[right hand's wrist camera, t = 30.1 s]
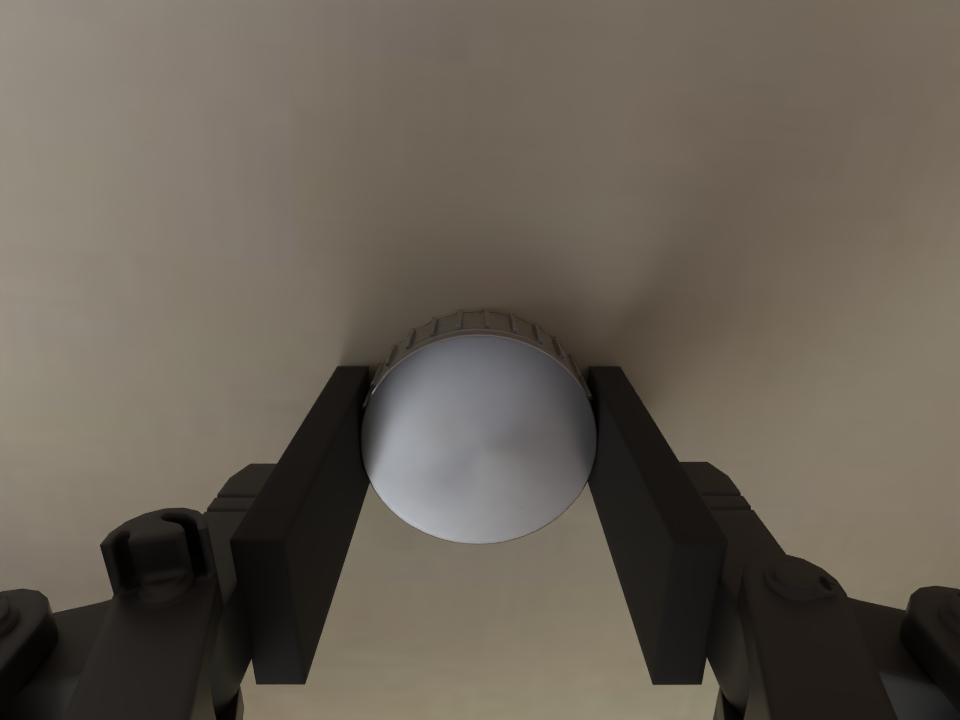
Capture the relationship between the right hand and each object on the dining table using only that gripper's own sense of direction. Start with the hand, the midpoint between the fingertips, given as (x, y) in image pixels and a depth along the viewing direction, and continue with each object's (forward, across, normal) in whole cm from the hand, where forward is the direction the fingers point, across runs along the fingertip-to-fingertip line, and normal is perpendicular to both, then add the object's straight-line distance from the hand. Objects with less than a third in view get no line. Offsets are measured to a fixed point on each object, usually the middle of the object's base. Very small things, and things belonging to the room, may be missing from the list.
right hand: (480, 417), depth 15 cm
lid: (-1, 0, 0) cm, 1 cm away
